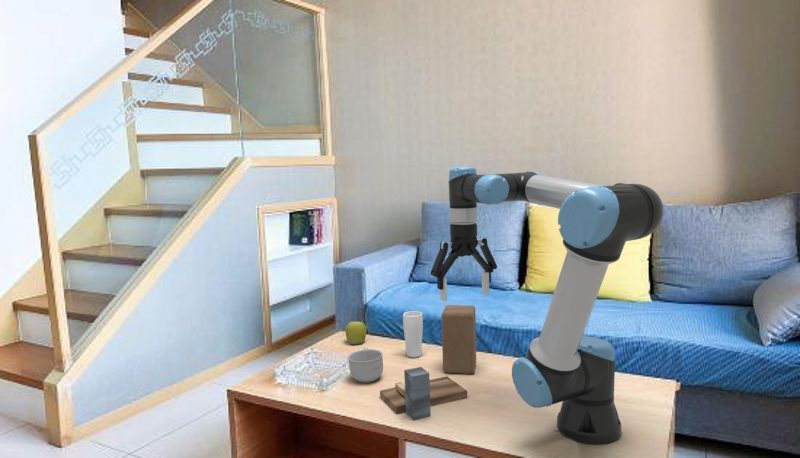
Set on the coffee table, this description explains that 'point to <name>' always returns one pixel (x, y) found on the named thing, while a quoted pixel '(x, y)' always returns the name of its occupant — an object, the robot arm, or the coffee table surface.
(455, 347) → the wooden block
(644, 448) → the coffee table surface
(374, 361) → the teacup
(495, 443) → the coffee table surface
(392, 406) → the board
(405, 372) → the grey block
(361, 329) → the apple
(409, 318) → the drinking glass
